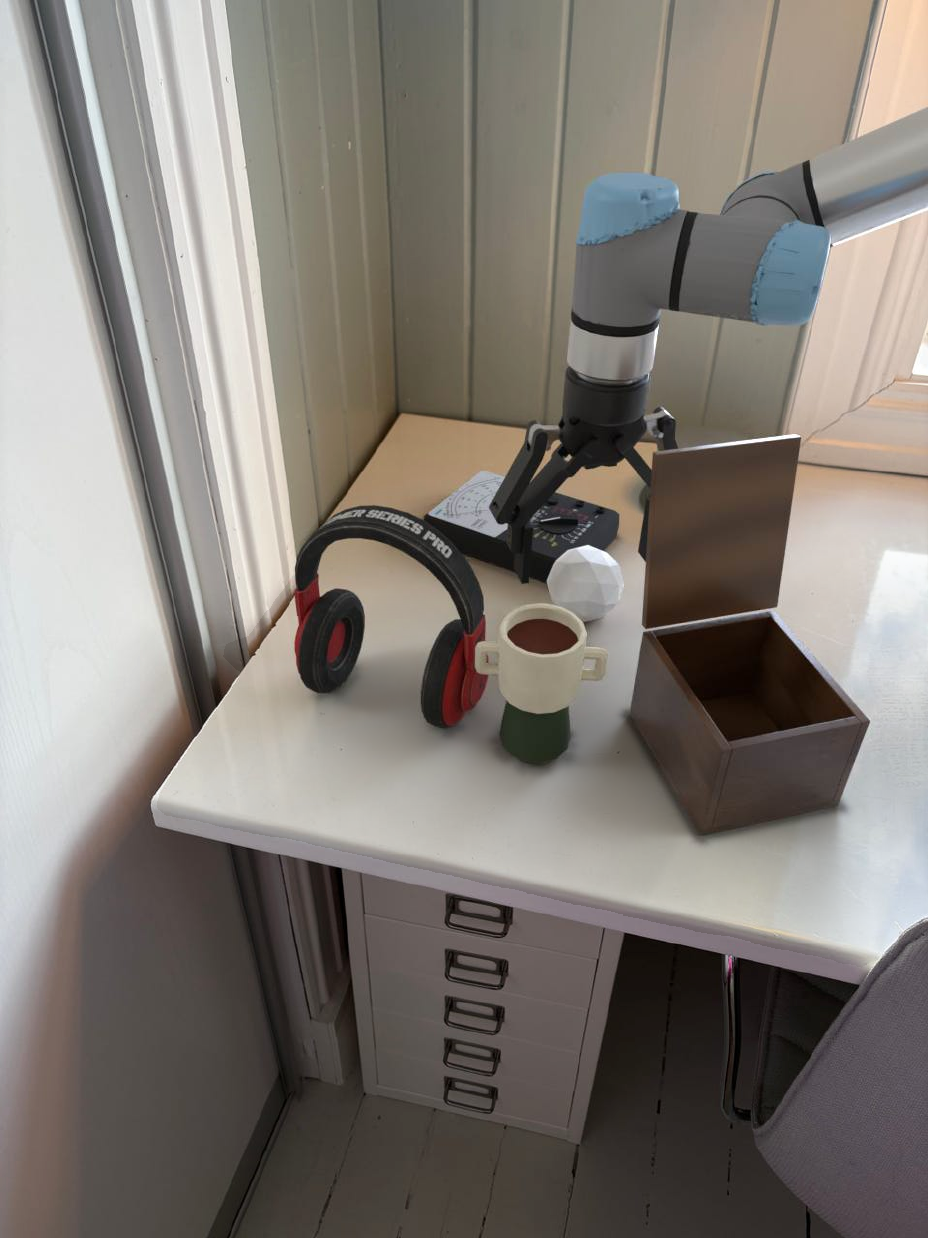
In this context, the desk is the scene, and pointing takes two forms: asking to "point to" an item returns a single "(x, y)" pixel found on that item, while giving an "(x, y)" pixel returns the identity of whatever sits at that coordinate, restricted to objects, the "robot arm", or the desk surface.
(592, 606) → the geometric ball
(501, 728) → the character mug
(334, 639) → the headphones
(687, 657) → the chest
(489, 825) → the desk surface
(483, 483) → the multimeter
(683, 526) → the chest lid
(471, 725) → the desk surface
